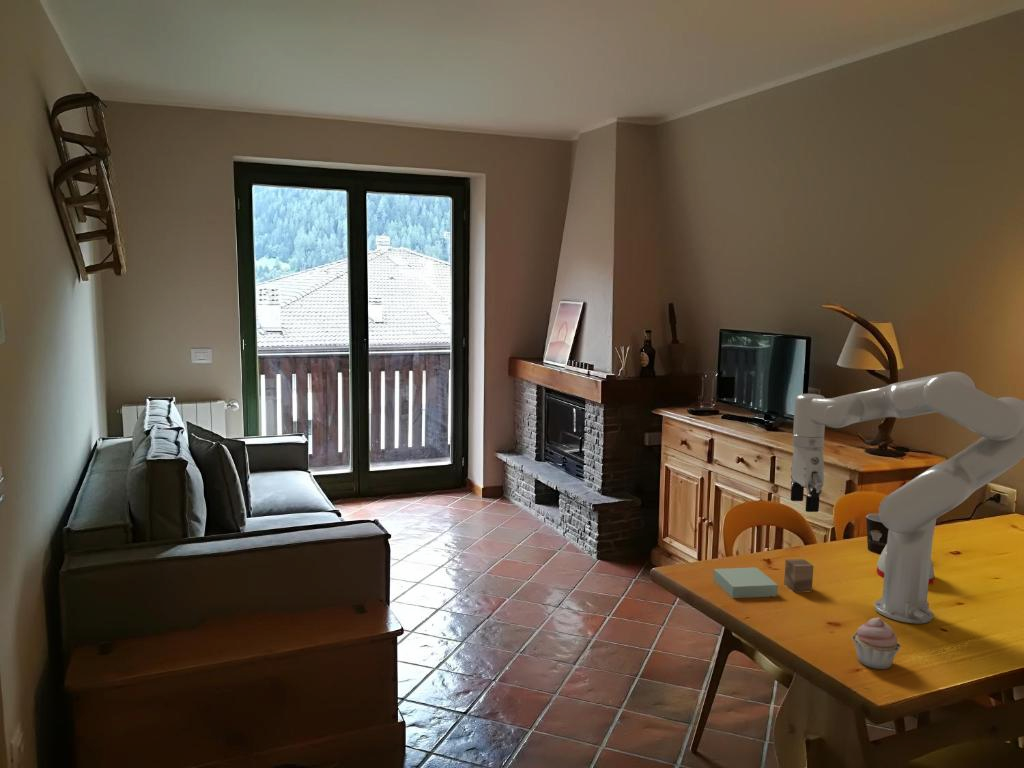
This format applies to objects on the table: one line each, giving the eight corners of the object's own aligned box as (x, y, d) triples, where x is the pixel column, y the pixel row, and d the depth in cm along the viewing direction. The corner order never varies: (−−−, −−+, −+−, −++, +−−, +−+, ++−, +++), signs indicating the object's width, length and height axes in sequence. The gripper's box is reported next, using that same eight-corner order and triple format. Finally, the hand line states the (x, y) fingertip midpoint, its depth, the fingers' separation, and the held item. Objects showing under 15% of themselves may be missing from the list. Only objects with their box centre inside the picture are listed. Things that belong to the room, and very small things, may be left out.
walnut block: (811, 591, 195) (813, 565, 194) (793, 592, 194) (795, 566, 193) (801, 584, 199) (803, 558, 198) (783, 584, 199) (785, 559, 198)
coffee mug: (857, 547, 229) (859, 515, 228) (880, 544, 231) (882, 513, 230) (886, 560, 218) (889, 527, 217) (910, 557, 220) (913, 524, 219)
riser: (777, 596, 191) (777, 584, 191) (732, 598, 189) (732, 586, 189) (755, 578, 203) (756, 567, 202) (713, 579, 201) (713, 569, 201)
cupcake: (884, 678, 151) (889, 631, 150) (841, 659, 159) (844, 614, 157) (908, 665, 157) (912, 620, 155) (865, 648, 164) (868, 604, 163)
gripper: (837, 449, 186) (833, 516, 188) (808, 435, 203) (804, 497, 206) (807, 448, 186) (803, 515, 188) (781, 435, 203) (777, 496, 205)
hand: (804, 506), depth 197 cm, fingers open, 9 cm apart
